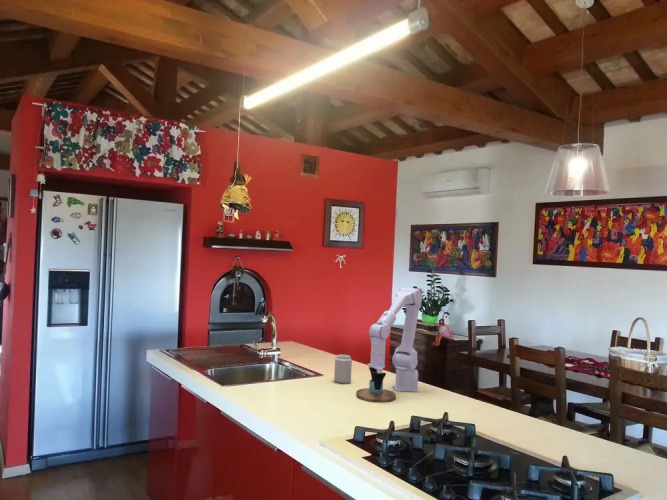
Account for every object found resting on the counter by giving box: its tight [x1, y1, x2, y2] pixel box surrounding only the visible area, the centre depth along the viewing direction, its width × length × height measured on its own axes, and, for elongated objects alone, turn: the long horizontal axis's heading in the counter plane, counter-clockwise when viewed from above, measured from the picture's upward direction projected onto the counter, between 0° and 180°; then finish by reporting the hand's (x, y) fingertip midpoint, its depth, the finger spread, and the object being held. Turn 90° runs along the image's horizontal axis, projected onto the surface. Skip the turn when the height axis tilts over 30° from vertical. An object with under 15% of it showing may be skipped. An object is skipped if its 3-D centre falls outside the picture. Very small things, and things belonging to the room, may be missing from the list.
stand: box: [355, 387, 397, 403], centre depth 218 cm, size 16×16×6 cm
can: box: [333, 354, 353, 385], centre depth 240 cm, size 8×8×12 cm
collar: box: [368, 378, 384, 395], centre depth 218 cm, size 5×5×5 cm
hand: (376, 387), depth 218 cm, fingers open, 7 cm apart
